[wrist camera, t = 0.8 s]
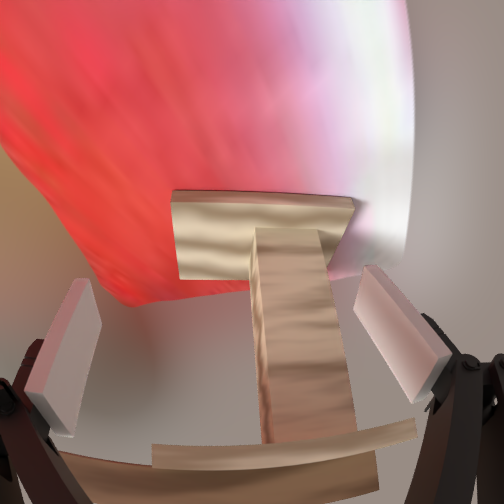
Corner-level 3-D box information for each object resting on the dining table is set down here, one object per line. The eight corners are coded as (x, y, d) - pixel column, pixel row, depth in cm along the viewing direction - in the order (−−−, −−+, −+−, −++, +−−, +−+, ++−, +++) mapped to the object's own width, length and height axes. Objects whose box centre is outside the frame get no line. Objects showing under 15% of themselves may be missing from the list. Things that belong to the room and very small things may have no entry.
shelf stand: (172, 190, 36) (152, 471, 18) (350, 197, 38) (418, 440, 21) (180, 268, 48) (176, 466, 31) (318, 269, 51) (349, 452, 33)
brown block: (43, 448, 18) (43, 489, 15) (374, 449, 21) (379, 489, 19) (62, 451, 21) (63, 488, 18) (356, 452, 24) (360, 488, 22)
